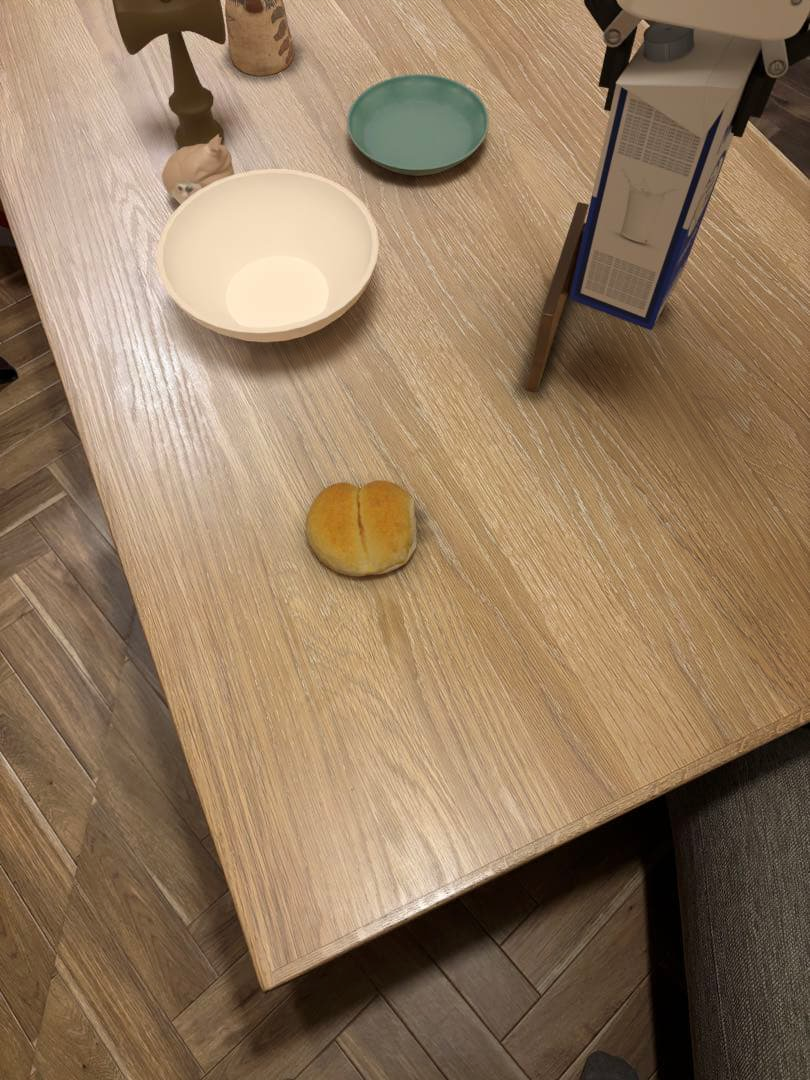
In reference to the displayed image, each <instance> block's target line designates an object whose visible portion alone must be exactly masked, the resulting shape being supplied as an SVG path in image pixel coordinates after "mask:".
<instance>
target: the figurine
mask: <svg viewBox="0 0 810 1080" xmlns="http://www.w3.org/2000/svg"><path fill="white" fill-rule="evenodd" d="M224 16H225V26H226V31H227V32H226V33H227V40H228V41H227V42H228V49H229V54H230V58H231V61H232V63H233V64H234V66H235V67H236V68H237V69H238V70H240V71H241V72H243V73H245V74H248V75H252V76H257V77H261V76H269V75H275V74H278V73H280V72H282V71H284V70H285V69H287V68H288V67H289V66H290V64H291V62H292V61H293V59H294V55H295V54H294V52H295V49H294V42H293V36H292V33H291V30H290V26H289V23H288V21H289V20H288V17H287V13H286V7H285V3H284V1H283V0H225V3H224Z"/></svg>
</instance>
